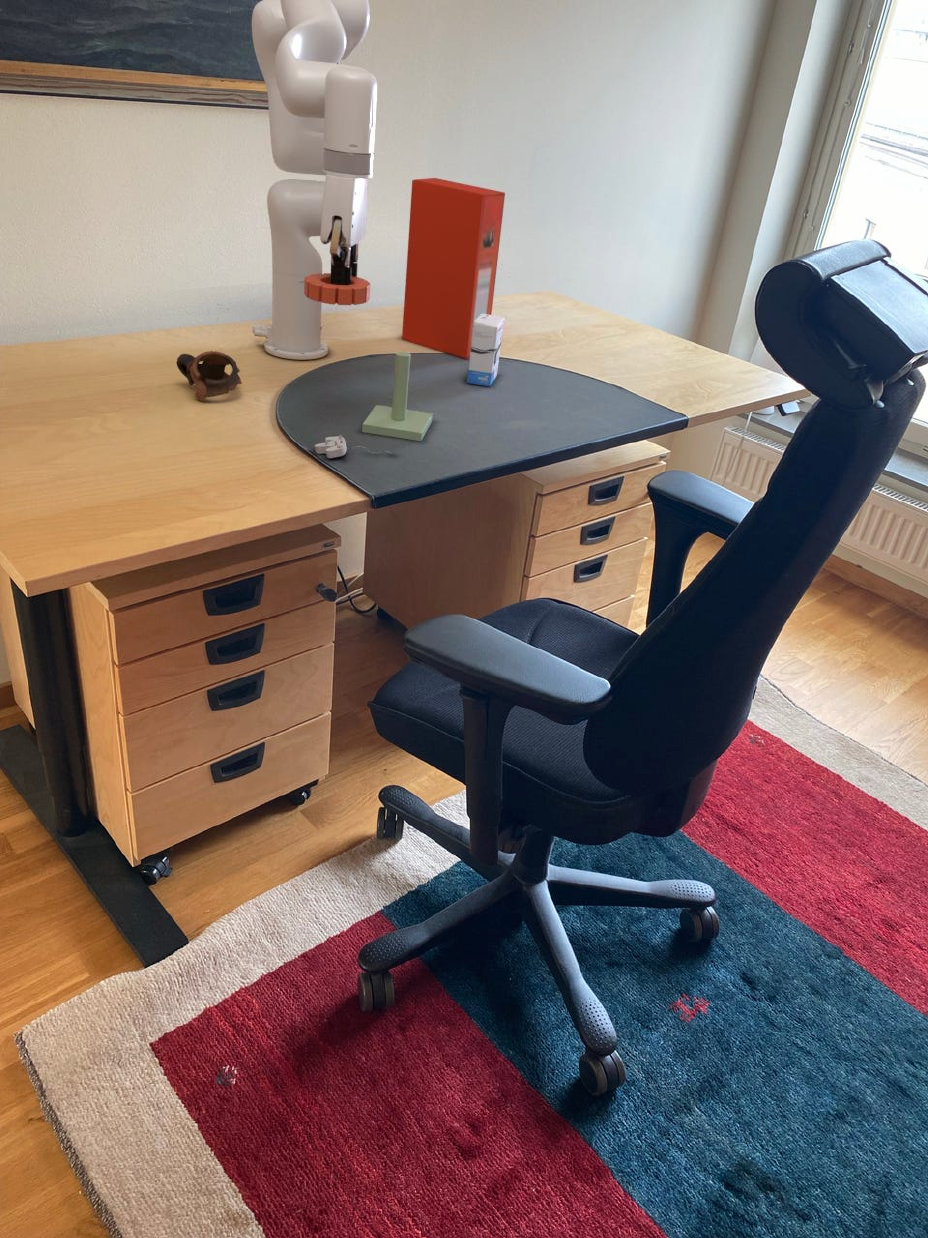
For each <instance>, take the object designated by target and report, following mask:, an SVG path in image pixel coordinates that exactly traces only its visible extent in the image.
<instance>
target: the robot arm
mask: <svg viewBox="0 0 928 1238" xmlns="http://www.w3.org/2000/svg"><path fill="white" fill-rule="evenodd" d="M370 9H371V8H370V3H369V0H260V1H259V2H258V3H257V4H255V6H254V8H253V10H252V15H251V37H252V42H253V49H254V52H255V57H256V60H257V63H258V66H259V69H260V72H261V76H262V77H263V80H264V84H265V87H266V93H267V104H268V119H269V134H270V135H269V136H270V147H271V154H272V159H273V162H274V164H275V166H276V167H277V168H278V169H279V170H281V171H283V172H286V173H290V174H291V173H293V174H301V175H315V176H325V178H324V181H322V180H316V179H315V180H314V179H313V180H312V179H300V178H299V179H298V178H293V179H292V178H288V179H281V180H278V181H276V182H274V183H273V184H272V185H271V186H270V187H269V189H268V192H267V195H266V196H267V197H266V204H267V205H266V206H267V214H268V221H269V229H270V237H271V270H272V271H271V272H272V273H271V275H272V276H271V280H272V281H271V284H272V285H271V286H272V287H271V289H272V293H271V296H272V297H271V299H272V301H271V303H272V304H271V305H272V306H271V307H272V309H271V311H272V312H271V314H272V316H271V318H272V319H271V320H272V321H271V322H272V323H271V324H268V325H264V324H261V323H253V324H252V334H254V337H260V338H261V337H262V338H265V339H266V340H265V342H264V344H263V349H264V351H265V352H266V353H268V354H269V355H272V356H274V357H277V358H281V359H286V360H287V359H288V360H298V361H307V360H317V359H320V358H323V357H324V358H325V356H326V355H328V353H329V346H328V345H327V344H326V343H325V342H323V341H321V340H322V339H321V338H322V337H321V335H322V303H321V301H320V302H317V301H314V300H311V299H309V298H307V297H306V296H305V295H304V279H305V277H307V276H308V275H311V274H319V273H321V274H323V260H322V257H321V255H320V253H319V252H318V250H317V248H316V247H315V246H314V245H313V243H312V242H311V240H310V238H311V237H312V238H313V237H320V238H319V239H320V243H322V245H327V244H329V243H330V245H329V255H330V273H331V279H330V284H333V285H351V276H353V277H358V260H359V243H360V242H361V241H362V240H364V238H365V236H366V231H367V220H368V179H372V178H373V177H374V161H375V145H376V125H377V123H376V122H377V107H378V105H377V104H378V80H377V78H376V76H375V75H374V74H373V73H371V72H370V71H368V70H367V69H366V68H364V67H362V66H357V65H350V64H342V63H341V64H340V63H339V62H341V61H345V60H347V59H349V58H350V57H351V55H352V54H353V53H354V52H355V51H356V49H357V48H358V47H359V45H361V43H362V42H363V41H364V39H365V37H366V35H367V33H368V30H369V26H370V20H371V10H370Z"/></svg>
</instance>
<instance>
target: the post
mask: <svg viewBox="0 0 928 1238" xmlns="http://www.w3.org/2000/svg"><path fill="white" fill-rule="evenodd" d="M410 367H411V353H410V352H408V351H396V352H395V359H394V371H393V372H394V373H393V390H392V403H391V406H386V405H381V404H380V405H379V404H376V405H375V406H374V407H373V409H372V410H371V412H370V413H369V414H368V416H367V417H366V419H365V420H364V421H363V423H362V425H361V426H362V427H361V428H362V429H361V432H362V433H366V434H370V435H378V436H384V437H390V438H397V439H402V440H410V441H416V442H422V441H423V439H424V437H425V435H426V433H427V431H428V430H429V428H430V427H431V424H432V422H433V413H432V412H424V411H418V410H411V409H407V405H408V404H407V403H408V393H409V382H410V379H409V378H410Z"/></svg>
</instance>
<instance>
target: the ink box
mask: <svg viewBox="0 0 928 1238" xmlns="http://www.w3.org/2000/svg"><path fill="white" fill-rule="evenodd" d="M505 319H506V318H505V317H502V316H498V315H493V314H491V315H488V314H481V315H479V317H477V319H476V320H475V321H474V324H473V333H472V342H471V351H470V359H468V360H469V361H468V362H469V363H468V368H467V377H466V383H467V384H471V385H476V386H477V385H478V386H484V387H489V388H490V387H491V386H492V384H493V383H494V381H495V380H496V377H497V376H498V369H499V361H500V353H501V346H502V338H503V332H504V326H505V325H504V324H505Z"/></svg>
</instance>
